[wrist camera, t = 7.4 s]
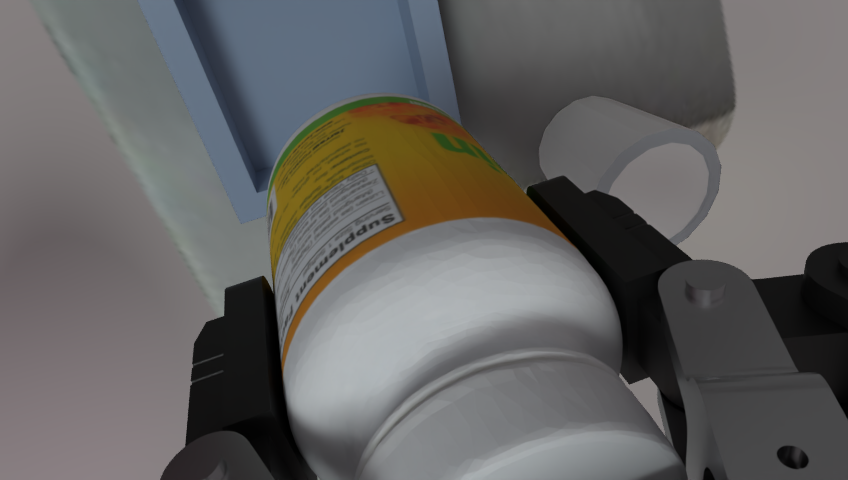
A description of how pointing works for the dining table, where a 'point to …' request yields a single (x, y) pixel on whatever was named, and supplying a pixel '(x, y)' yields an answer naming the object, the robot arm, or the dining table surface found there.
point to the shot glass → (634, 162)
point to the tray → (291, 71)
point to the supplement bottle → (440, 313)
